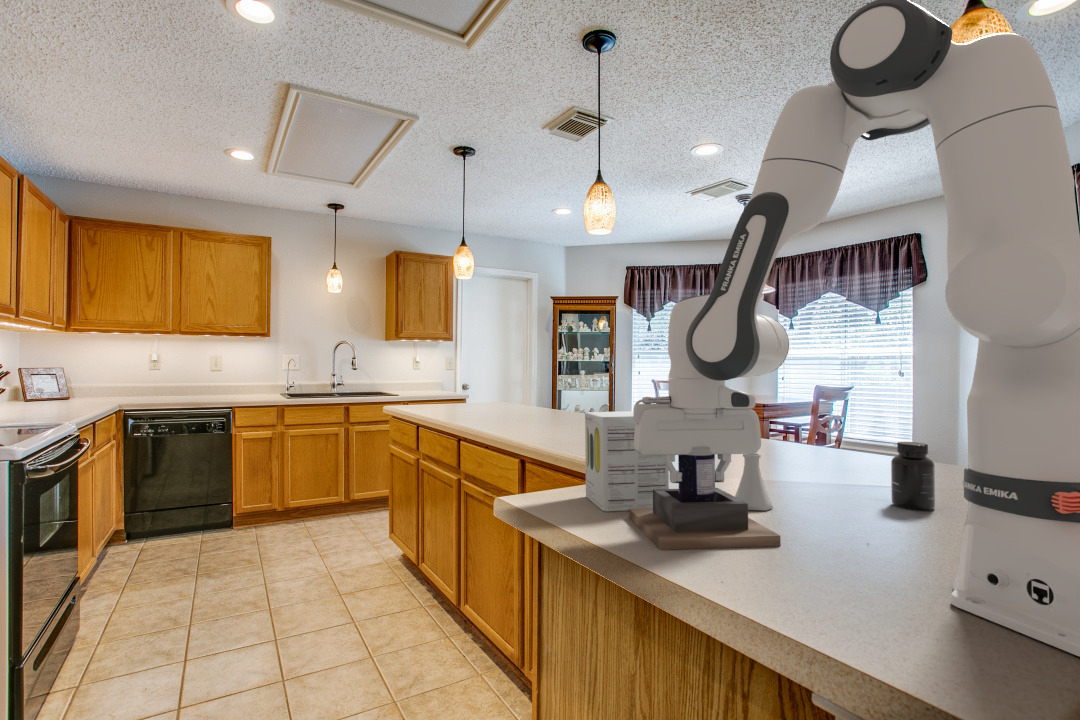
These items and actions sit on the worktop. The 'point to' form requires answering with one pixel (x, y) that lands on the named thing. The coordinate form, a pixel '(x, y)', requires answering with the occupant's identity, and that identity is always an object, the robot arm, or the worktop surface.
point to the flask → (753, 485)
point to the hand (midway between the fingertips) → (697, 482)
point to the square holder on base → (701, 523)
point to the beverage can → (697, 476)
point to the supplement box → (619, 464)
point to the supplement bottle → (913, 477)
